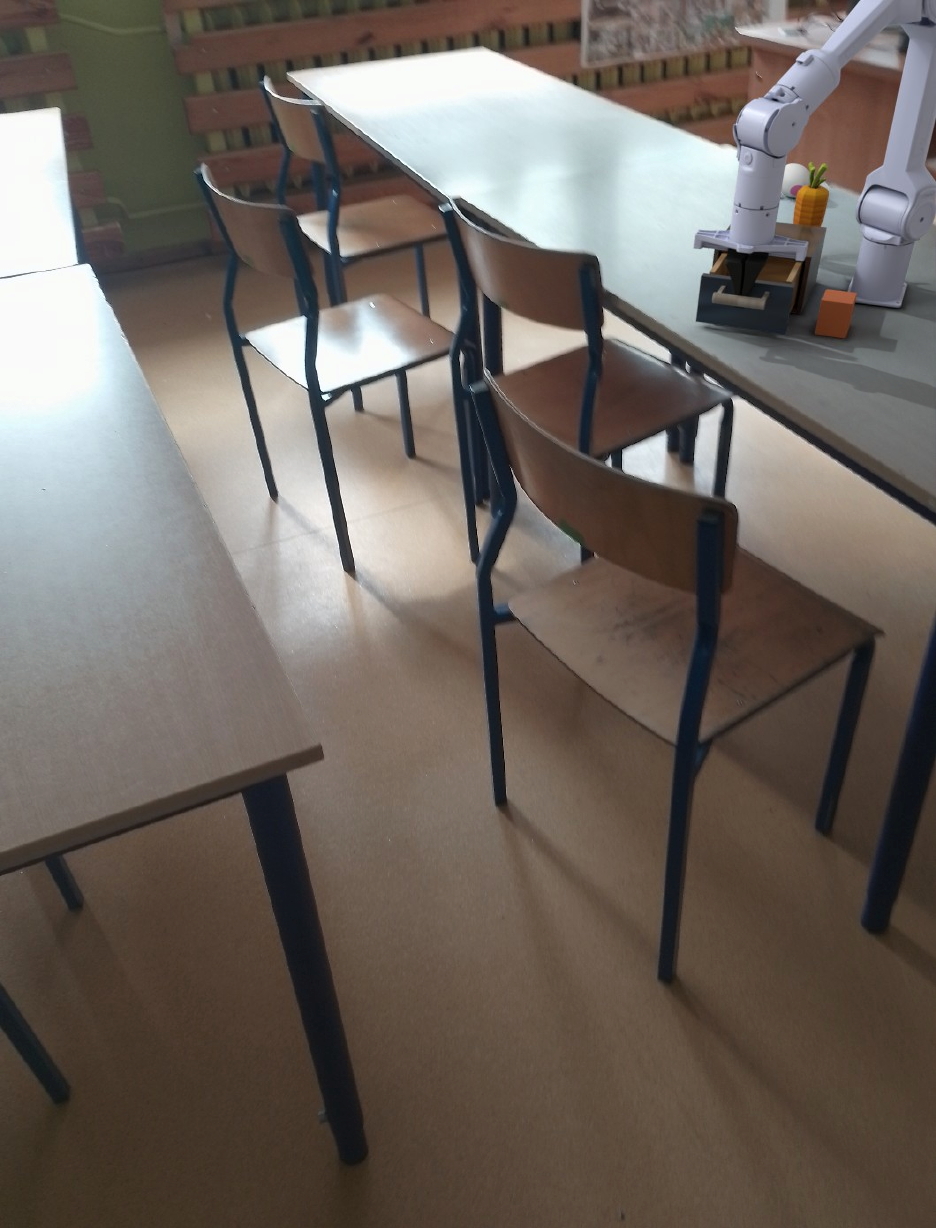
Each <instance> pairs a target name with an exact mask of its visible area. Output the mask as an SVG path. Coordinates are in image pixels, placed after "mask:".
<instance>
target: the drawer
mask: <svg viewBox="0 0 936 1228" xmlns="http://www.w3.org/2000/svg"><path fill="white" fill-rule="evenodd" d="M727 253H728V252H723V253H722V255H721V256H720V257H719V259H718V260H717V262H716V263H715V265H714V266H713V267H712V266H711V269H710V271H709V273H706V272H702V274H701V276H700V283H699V292H698V299H697V307H696V314H695V315H696V316H695V322H696V323H703V324H709V325H716V326H722V327H730V328H738V329H742V330H743V329H745V330H752V331H757V332H764V333H770V334H771V333H772V334H778V335H786V333H787V329H788V326H789V325H788V324H789V318H790V315H791V313H790V312H791V310H792V308H793V306H794V304H795V302H796V300H797V295H798V290H799V285H800V279H801V274H802V269H803V263H804V261H796V260H791V259H783V258H774V257H769V259H768V261H767V262H766V264H765V266H764V267H763V269H762V270H761V272H760V273H759V275H758V277H757V279H756V281H755V283H754V286H753V288H752V290H751V293H750V296H749V297H746V296H739V295H734V291H733V285H732V281H731V277H730V274H729V271H728V269H727V267H726V263H725V258H726V257H727ZM734 306H738V307H745V309H742V308H735V307H734Z"/></svg>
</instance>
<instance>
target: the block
mask: <svg viewBox="0 0 936 1228" xmlns="http://www.w3.org/2000/svg"><path fill="white" fill-rule="evenodd" d="M856 296H857V293H852V292H847V291H843V290H836V289H825V291H824V293H823V295H822V298H821V300H820V305H819V310H818V315H817V319H816V325H815V329H814V335H817V336H825V337H833V338H838V339H846V337H847V335H848V332H849V329H850V327H851V322H852V317H853V313H854V309H855V304H856V302H855V301H856Z"/></svg>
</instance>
